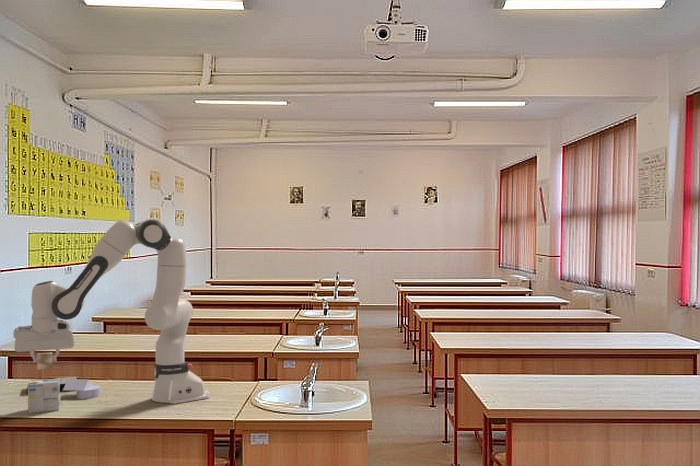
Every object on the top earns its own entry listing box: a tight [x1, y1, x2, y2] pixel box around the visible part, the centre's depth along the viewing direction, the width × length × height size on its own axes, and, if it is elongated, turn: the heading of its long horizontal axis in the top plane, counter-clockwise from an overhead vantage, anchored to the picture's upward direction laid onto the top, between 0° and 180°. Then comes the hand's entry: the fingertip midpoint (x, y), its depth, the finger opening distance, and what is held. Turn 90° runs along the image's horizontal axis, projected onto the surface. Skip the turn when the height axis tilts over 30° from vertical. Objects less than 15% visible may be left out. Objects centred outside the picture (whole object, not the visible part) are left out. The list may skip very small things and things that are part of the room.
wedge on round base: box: [63, 378, 102, 400], centre depth 268 cm, size 9×7×13 cm
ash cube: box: [36, 352, 53, 370], centre depth 248 cm, size 5×5×5 cm
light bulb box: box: [27, 378, 61, 414], centre depth 248 cm, size 11×7×11 cm, turn 111°
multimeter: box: [26, 376, 79, 396], centre depth 280 cm, size 13×19×5 cm
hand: (44, 361), depth 248 cm, fingers closed on ash cube, 5 cm apart
